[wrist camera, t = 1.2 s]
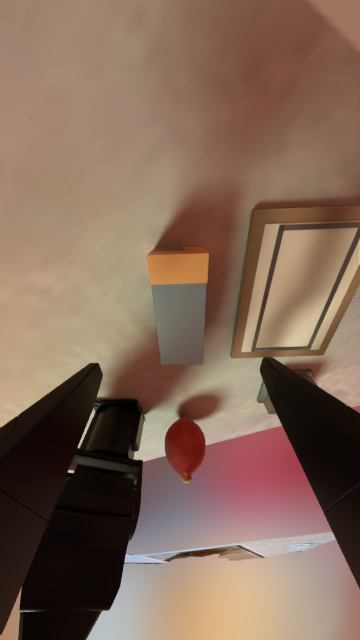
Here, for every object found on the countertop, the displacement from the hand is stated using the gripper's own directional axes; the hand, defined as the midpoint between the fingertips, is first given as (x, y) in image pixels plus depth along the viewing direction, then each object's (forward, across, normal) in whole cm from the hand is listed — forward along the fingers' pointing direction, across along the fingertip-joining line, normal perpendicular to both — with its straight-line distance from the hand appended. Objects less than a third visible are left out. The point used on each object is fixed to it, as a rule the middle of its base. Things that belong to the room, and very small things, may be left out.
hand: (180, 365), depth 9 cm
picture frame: (+9, -12, 0) cm, 15 cm away
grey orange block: (+9, 0, 0) cm, 9 cm away
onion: (+9, 0, +20) cm, 22 cm away
